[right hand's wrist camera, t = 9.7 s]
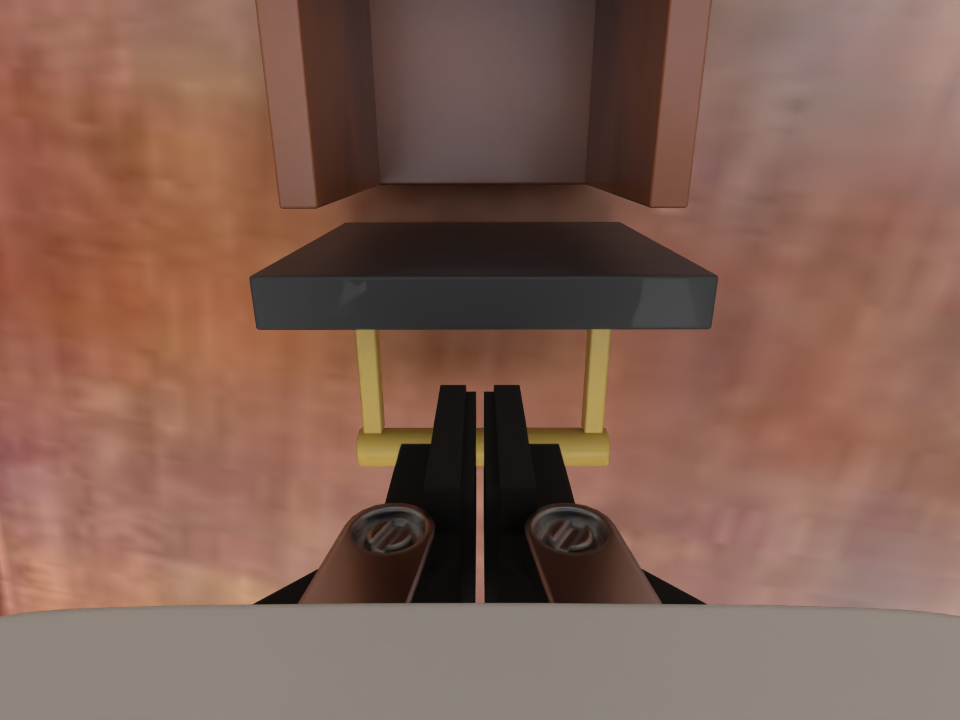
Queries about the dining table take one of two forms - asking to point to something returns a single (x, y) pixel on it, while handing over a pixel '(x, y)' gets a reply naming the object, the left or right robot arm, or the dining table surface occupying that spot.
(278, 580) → the dining table surface
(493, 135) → the drawer
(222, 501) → the dining table surface
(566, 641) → the right robot arm
